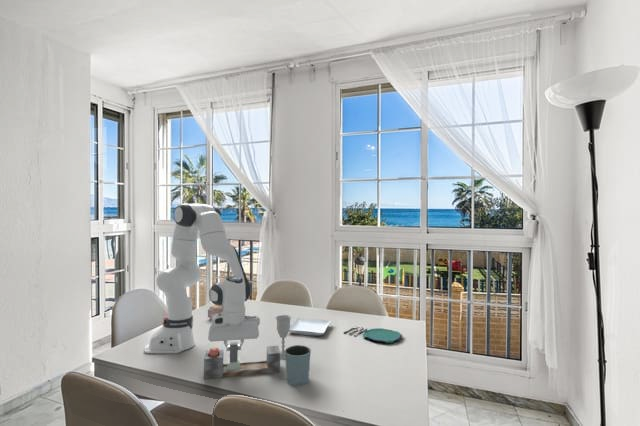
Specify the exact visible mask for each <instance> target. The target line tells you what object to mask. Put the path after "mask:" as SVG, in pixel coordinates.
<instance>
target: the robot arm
mask: <svg viewBox="0 0 640 426" xmlns="http://www.w3.org/2000/svg"><path fill="white" fill-rule="evenodd" d="M173 220H174V222H175V226H174V229H173V230H174V231H173V235H172V243H171V255H172V257H174V258H175V261H176V266H173V267H170V268H166V269H164V270H163V271H161V272H160V273H158V275H157V277H156V286H157V288H158V289H159V290H160V291H161V292H162V293H163V294H164V296H165V298H166V305H167V315H165V316H164V318H163V320H162V326H161V327H159V329H157V330H155V332H153V333H152V334H151V337H150V340H149V342H148V343H147V344H146V345H145V346H144V348H143V349H144V350H143V351H144V354H179V353H182V352H184V351H186V350H190V349H191V348H193V347H195V345H196V342H195V339H194V332H193V327H194V318H193V317H194V316H193V300H192V298H191V297H189V296H188V294H187V290H186V288H188V287H191V286H193V285H196V284H197V283H198V282H199V281H201V279H202V275H203V272H202V268H201V267H200V266H199V265H198V262H197V255H196V254H197V253H196V252H197V244H198V235H199V238H200V243H201V247H202V250H203V251H204V252H206V253H207V254H208V255H210V256H212V257H216V258H218V259H219V258H220V259H222V260H224V261H226V263H227V264H228V266H229V268H230V272H231V274H232V275H231V276H227V277H226V278H225V279H224V280H222V281H219V282H216V283H214V284H212V286H211V287H210V288H209V292H208V293H209V300H210V302H211V303H212V304H213V305H223V306H224V309H223V312H221V313H218V314H215V315H214V316H213V317H212V319H211V324H210V325H209V329H208V335H207V337H208V338H207V339H208V341H209V342H210V343H211V342H223V345H224V346H225V348H226V349H225V351H226V352H230V344H228V342H229V341H239V340H240V343H239V344H238V351H242V346H243V344H244V342H245V340H255V339H258V338H259V337H260V331H259V327H260V324H261V321H260V320H261V319H260V317H259V316H257V315H246V305H245V302H247V301H248V300H249V298H250V297H251V295H252V290H253V288H252V285H251V283H250V281H249V280H248V277H247V275H246V272H245V269H244V267H243V263H242V261H241V259H240V256H239V253H238V251H237V248H236V247H235V246H234V245H232V244H231V242H230V241H229V238H228V237H227V233H226V229H225V228H226V227H225V225H224V221H223V220H222V213H221V210H220V208H219V207H217V206H216V205H213V204H210V205H209V204H205V203H186V202H185V203H180V204H178V205H177V206H176V207H175V209H174V211H173Z"/></svg>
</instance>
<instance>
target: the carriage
mask: <svg viewBox="0 0 640 426" xmlns="http://www.w3.org/2000/svg"><path fill="white" fill-rule="evenodd" d="M238 343H239V342H238V341H231V342H229V345H230V351H229V357H228V358H227V360H226V364H227V371H232V370H240V363H241V357H240V356H238V354H239V353H238V351H239V350H238V345H239V344H238Z"/></svg>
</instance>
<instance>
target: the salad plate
mask: <svg viewBox="0 0 640 426" xmlns="http://www.w3.org/2000/svg"><path fill="white" fill-rule="evenodd" d="M331 323H332V320H328V319H327V320H326V319H316V318H302V317H301V318H300V317H298V318H296V319H295V320H294V321H293V322H292V323H290V329H289V332H288V333H291V334H295V335H304V334H305V335H306V336H314V337H315V336H316V337H317V336H322V335H324V334H325V332H326V330H327V329H328V328H329V326H330V325H331Z"/></svg>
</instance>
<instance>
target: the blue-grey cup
mask: <svg viewBox="0 0 640 426" xmlns="http://www.w3.org/2000/svg"><path fill="white" fill-rule="evenodd" d="M284 350H285V357H286V359H285V369H286V382H287V383H288V384H289V385H291V386H303V385H306V384H307V383H308V382H309V377H310V375H309V373H310V362H311V354H312V353H311V352H312V350H311V348H310V347H309V346H307V345H302V344H301V345H300V344H294V345H291V346H288V347H287V348H285V349H284Z"/></svg>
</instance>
